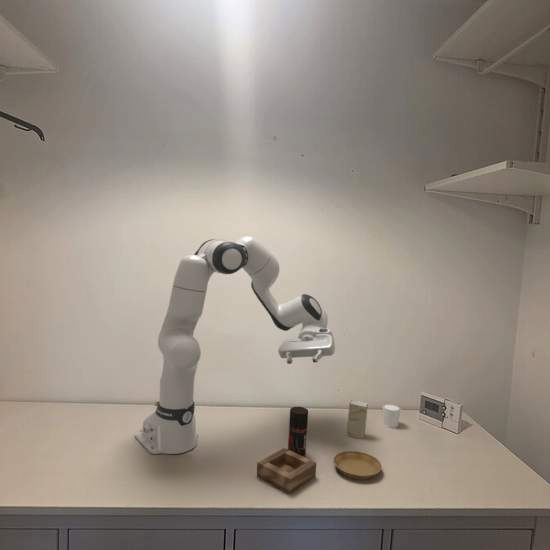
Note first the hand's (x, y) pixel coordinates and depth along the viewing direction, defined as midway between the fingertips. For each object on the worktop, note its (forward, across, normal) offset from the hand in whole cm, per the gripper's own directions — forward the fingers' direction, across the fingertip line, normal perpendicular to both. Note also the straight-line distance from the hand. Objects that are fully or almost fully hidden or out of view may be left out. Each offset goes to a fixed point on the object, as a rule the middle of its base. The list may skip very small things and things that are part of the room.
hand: (301, 361), depth 147 cm
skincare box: (-2, +11, +36) cm, 38 cm away
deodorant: (+18, -4, +24) cm, 30 cm away
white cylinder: (-15, +21, +44) cm, 51 cm away
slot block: (+32, -2, +18) cm, 36 cm away
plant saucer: (+20, +16, +28) cm, 38 cm away
